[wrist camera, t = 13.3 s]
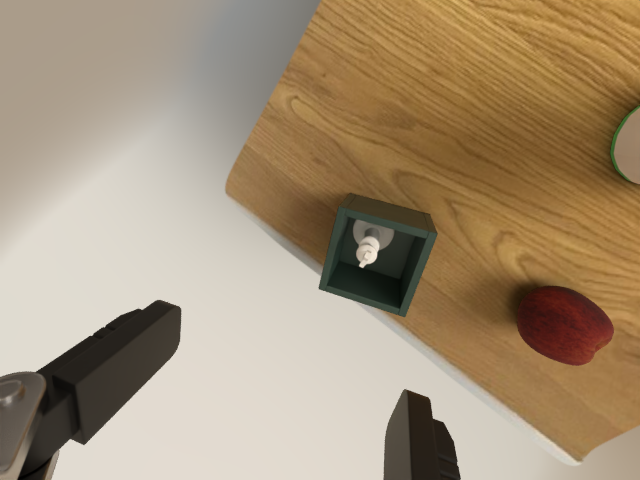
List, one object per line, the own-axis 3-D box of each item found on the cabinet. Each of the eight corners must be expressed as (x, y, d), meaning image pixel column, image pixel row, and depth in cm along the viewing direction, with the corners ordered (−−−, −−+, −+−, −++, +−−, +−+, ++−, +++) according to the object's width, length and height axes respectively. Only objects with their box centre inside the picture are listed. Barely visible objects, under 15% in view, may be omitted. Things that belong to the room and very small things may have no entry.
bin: (332, 262, 39) (318, 289, 32) (350, 192, 36) (338, 206, 29) (404, 284, 38) (405, 317, 31) (430, 214, 34) (438, 233, 27)
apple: (544, 343, 36) (582, 397, 28) (489, 307, 36) (512, 351, 29) (598, 301, 33) (656, 348, 25) (538, 262, 33) (577, 298, 26)
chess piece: (401, 222, 35) (402, 252, 26) (382, 256, 37) (376, 295, 27) (363, 203, 35) (350, 227, 26) (346, 238, 37) (329, 272, 28)
